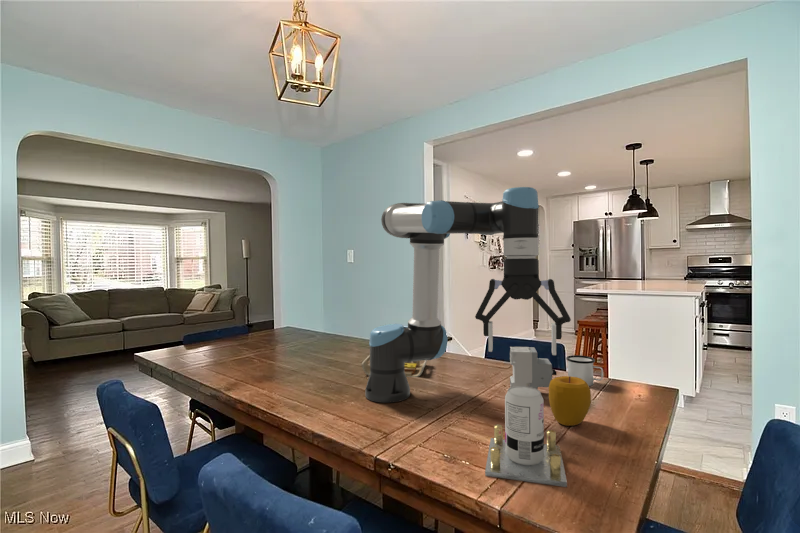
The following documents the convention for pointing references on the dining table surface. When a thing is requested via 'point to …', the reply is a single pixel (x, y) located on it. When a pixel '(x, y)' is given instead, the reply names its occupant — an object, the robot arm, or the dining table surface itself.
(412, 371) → the toy food set
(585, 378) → the mug
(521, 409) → the supplement can
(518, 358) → the circuit breaker
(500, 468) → the plate
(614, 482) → the dining table surface
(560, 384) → the apple
